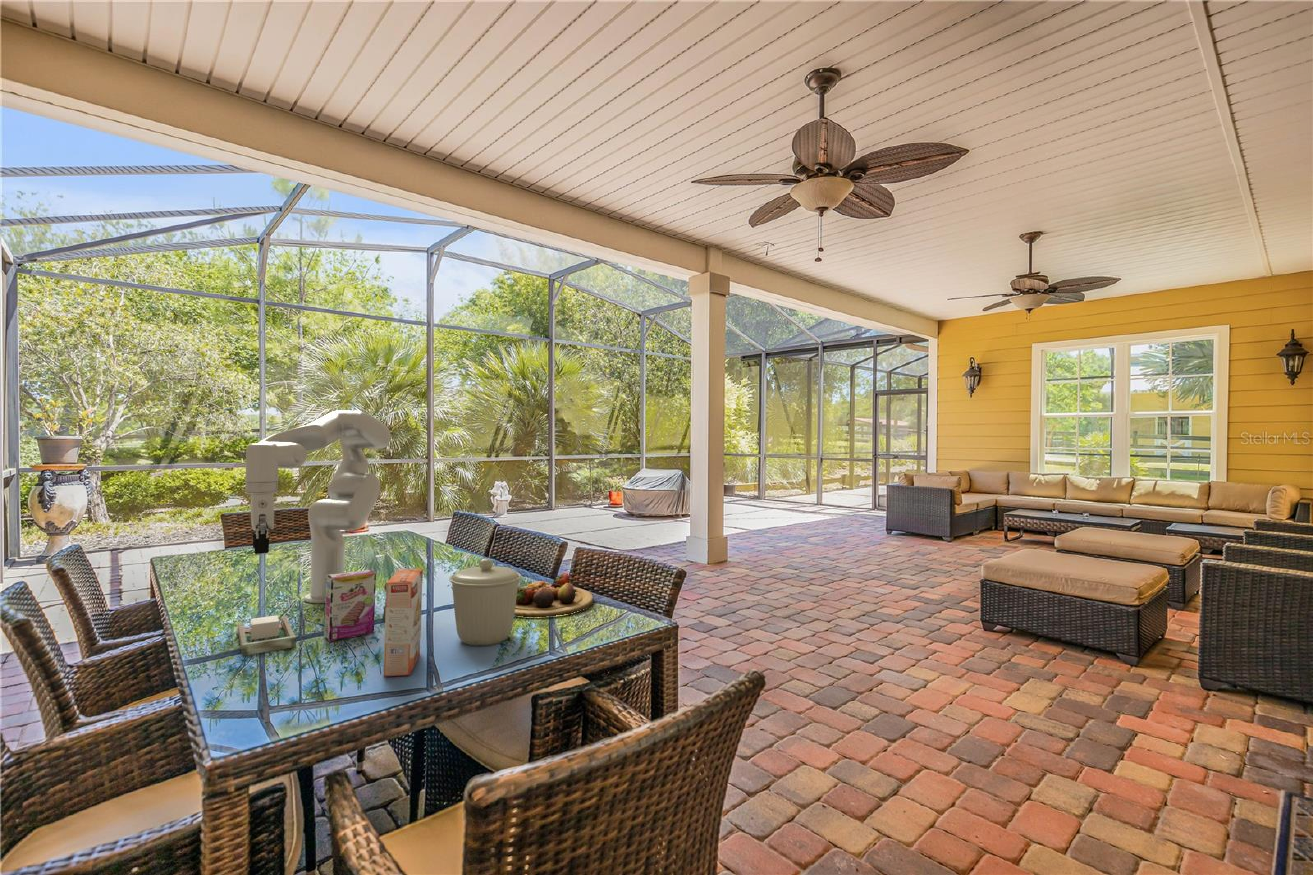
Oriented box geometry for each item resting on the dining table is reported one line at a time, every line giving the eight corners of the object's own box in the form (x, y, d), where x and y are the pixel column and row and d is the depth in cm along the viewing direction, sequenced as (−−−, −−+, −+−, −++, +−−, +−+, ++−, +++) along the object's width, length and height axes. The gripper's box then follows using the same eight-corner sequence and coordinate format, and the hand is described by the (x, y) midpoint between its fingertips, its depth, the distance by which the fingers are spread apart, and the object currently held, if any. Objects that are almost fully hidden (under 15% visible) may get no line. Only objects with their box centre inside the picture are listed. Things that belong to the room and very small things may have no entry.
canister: (496, 655, 148) (498, 568, 148) (433, 646, 153) (434, 562, 153) (532, 632, 165) (534, 555, 165) (474, 625, 171) (476, 550, 171)
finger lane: (285, 623, 170) (285, 614, 170) (295, 646, 151) (296, 636, 151) (237, 629, 163) (237, 620, 163) (242, 655, 145) (242, 645, 144)
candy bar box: (329, 642, 154) (331, 578, 154) (323, 638, 158) (324, 574, 158) (375, 633, 162) (376, 571, 162) (368, 629, 166) (369, 568, 166)
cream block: (277, 630, 164) (277, 615, 164) (278, 636, 159) (279, 621, 159) (250, 634, 161) (250, 618, 161) (251, 640, 156) (251, 624, 156)
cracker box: (411, 676, 134) (413, 581, 134) (382, 678, 133) (384, 582, 133) (422, 654, 148) (423, 567, 148) (395, 655, 147) (397, 568, 147)
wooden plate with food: (544, 587, 216) (544, 563, 216) (613, 601, 198) (613, 576, 198) (469, 608, 190) (469, 582, 190) (540, 627, 172) (540, 598, 172)
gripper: (280, 490, 163) (279, 554, 163) (275, 485, 177) (274, 544, 177) (246, 491, 159) (245, 557, 159) (244, 486, 173) (243, 546, 173)
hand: (260, 550), depth 168 cm, fingers open, 9 cm apart
